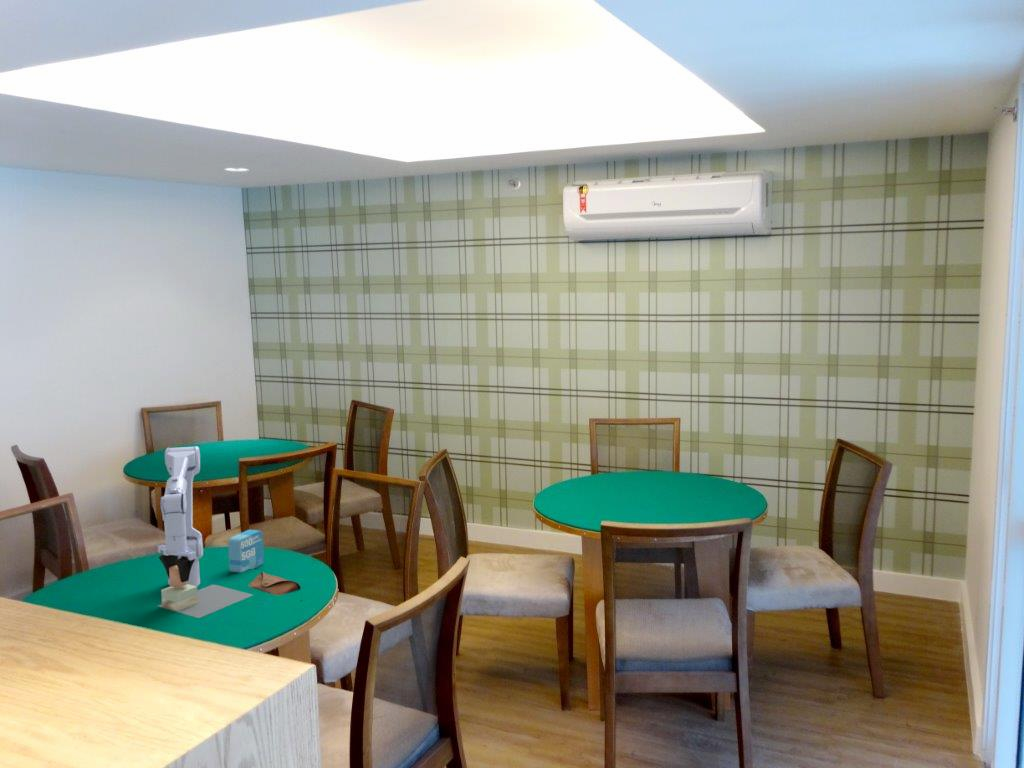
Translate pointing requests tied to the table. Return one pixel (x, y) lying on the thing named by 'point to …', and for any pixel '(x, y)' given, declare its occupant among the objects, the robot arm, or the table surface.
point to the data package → (246, 551)
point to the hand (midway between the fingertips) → (178, 579)
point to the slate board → (212, 600)
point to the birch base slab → (180, 603)
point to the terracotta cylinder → (175, 577)
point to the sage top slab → (179, 593)
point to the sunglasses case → (273, 584)
